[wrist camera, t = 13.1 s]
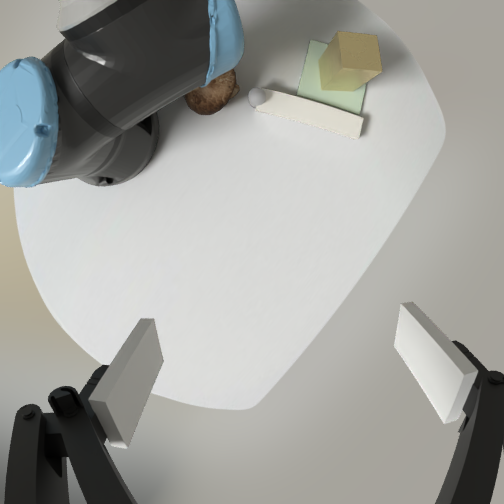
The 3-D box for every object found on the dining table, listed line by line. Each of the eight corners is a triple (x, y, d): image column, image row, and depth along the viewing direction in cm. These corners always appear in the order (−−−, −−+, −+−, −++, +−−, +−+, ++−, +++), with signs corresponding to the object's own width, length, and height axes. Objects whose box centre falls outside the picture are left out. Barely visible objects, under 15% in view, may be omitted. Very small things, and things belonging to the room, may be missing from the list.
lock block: (321, 90, 37) (342, 67, 27) (318, 60, 36) (337, 31, 25) (352, 91, 37) (382, 71, 26) (349, 62, 36) (376, 35, 25)
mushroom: (263, 83, 35) (229, 70, 30) (228, 130, 39) (193, 124, 35) (229, 56, 37) (196, 43, 32) (200, 99, 42) (166, 92, 37)
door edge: (246, 108, 39) (245, 104, 36) (251, 88, 38) (251, 83, 35) (354, 139, 40) (361, 138, 36) (358, 119, 39) (366, 117, 36)
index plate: (296, 95, 38) (296, 94, 37) (310, 40, 36) (310, 39, 35) (358, 115, 39) (359, 114, 38) (369, 61, 36) (371, 59, 36)
